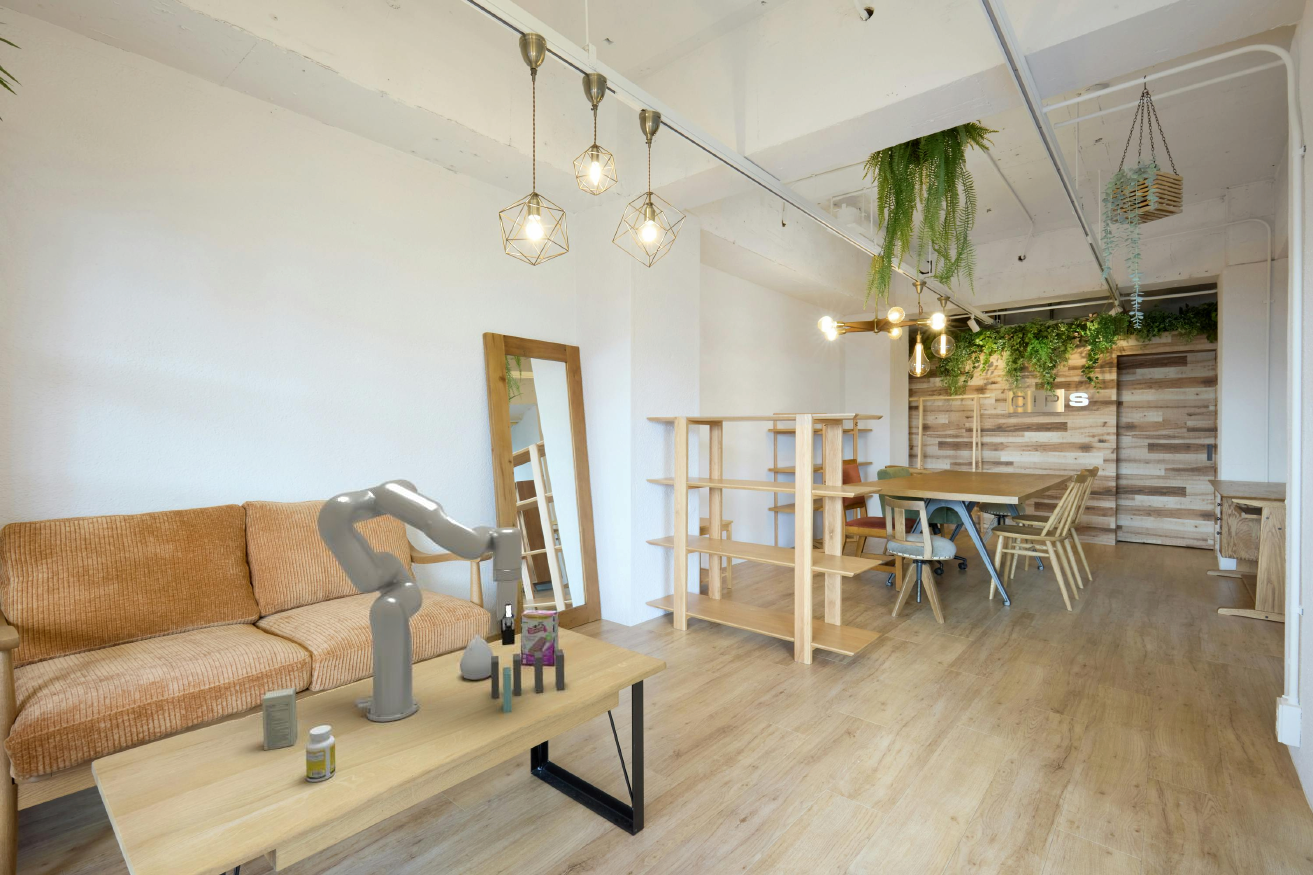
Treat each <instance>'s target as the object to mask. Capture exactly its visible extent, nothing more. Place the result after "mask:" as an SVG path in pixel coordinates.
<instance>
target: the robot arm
mask: <svg viewBox="0 0 1313 875" xmlns="http://www.w3.org/2000/svg"><path fill="white" fill-rule="evenodd" d="M387 515H389V516H390V517H393V518H395V519H397V520H399V521H401V522H402V523H404V524H406V525H408V526H411V527H412V528H414V529H416V530H418V531H420V532H422V533H423V534H424V535H425V537H427V538H428V539H430V540H431V541H432V542H433V543H435V544H436V545H437V546H439V547H440V548H442V549H443V550H444V551H448V552H450V553H452V554H453V555H456V556H458V557H460V558H462V559H464V560H469V561H474V560H479V559H480V558H482V557H483V556H484V555H486V554H490V553H492V581H493V582H494V583H496V593H495V594H496V596H495V598H496V600H495V601H496V620H497V621H499V622H500V634H501V645H502V646H510V645H511V646H512V645H515V643H516V640H515V639H516V635H515V634H516V632H515V631H516V629H515V622H514V621H515V620H516V618H517V609H518V582H519V581H522V579H523V569H522V568H523V562H522V561H523V559H522V556H523V554H522V552H523V551H522V550H523V548H522V547H523V543H522V542H523V541H522V539H523V537H522V536H523V535H522V534H523V533H522V530H521V529H520V528H518V527H514V526H505V527H494V526H493V527H491V526H483V525H482V526H481V525H480V526H476V527H474V528H469V527H467V526H465V525H463V524H461V523H459V522H458V521H456V520H454V519H452V518H451V517H450V516H449V515H447V513H446V512H445V510H444V507H443V506H442V505H441V503H440V502H438V501H437V500H435V499H432V498H431V497H428V496H426V495H424V494H422V493H420V492H419V491H418V488H417V487H416V485H415V484H414V483H413V482H411V481H410V480H407V479H392V480H388V481H384V482H382V483H380V485H377V486H374V487H369V488H364V489H361V490H360V489H359V490H356V491H348V492H343V493H339V494H336V495H334V496H332V497H331V498H329V499H328V500H326V502H324V504H323V505H322V507H321V508H320V510H319V513H318V515H317V523H316V524H317V531H318V533H319V536H320V538H321V540H322V542H323V543H324V544H325V546H326V548H328V550H329V551H330V552H331V554H332V555H333V557H334V558H335V559H336V562H337V563H338V565H339V566H340V568H341V570H342V571H343V572H344V573H345V575H346V576H347V578H348V579H349V581H350V582H351V583H352V585H353V586H354V588H355V590H357V591H358V592H360V593H361V594H367V595H368V594H374V593H376V592H379V594H380V595H378V597H377V598H376V599H375V600H374V601H373V603H372V604H371V606H370V609H369V618H368V619H369V626H370V630H371V631H370V632H371V638H372V680H373V681H372V691H373V692H372V695H371V696H370V695H369V696H368V697H366V698H363V697H362V698H361V697H360V698H355V700H354V707H355V708H358V710H362V709H364V710H365V709H367V710H366V717H367V719H368V720H370V721H372V722H373V721H374V722H382V723H384V722H393V721H397V720H398V721H399V720H401V719H404V718H407V717H408V716H411V715H413V714H414V713H416V712H417V711H418V709H419V708H420V702H419V700H417V699H416V698H414V697H413V640H412V639H413V637H412V632H411V627H410V619H411V618H412V617H414V615H416V614H417V613H418V612H419V611H420V610H421V608H422V605H423V601H424V600H423V593H422V591H421V589H420V587H419V585H418V584H417V582H416V581H415V580H414V578H413V576H412V575H411V574H410V573H409V571H408V570H407V568H406V566H405V565H404V564H403V562H402V561H401V560H400V558H399V557H397V556H396V555H395V554H393V553H391V552H389V551H388V552H387V551H377V552H376V551H375V549H374V548H373V547H372V546H371V544H370V543H369V541H368V539H367V538H366V537H365V536H364V534H362V533H361V531H359V530H357V528H356V526H355V524H358V523H360V522H365V521H368V520H372V519H375V518H379V517H383V516H387Z"/></svg>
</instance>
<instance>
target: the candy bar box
mask: <svg viewBox="0 0 1313 875" xmlns="http://www.w3.org/2000/svg"><path fill="white" fill-rule="evenodd" d="M558 649H559V611H558V610H539V609H538V610H537V609H532V610H531V609H525V610H524V611H523V612H522V613H521V614H520V656H521V666H534V652H539V651H541V652H542V656H543V667H545V666H547V667H548V666H550V667H551V666H552V667H555V650H558Z"/></svg>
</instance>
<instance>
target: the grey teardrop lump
mask: <svg viewBox="0 0 1313 875" xmlns="http://www.w3.org/2000/svg"><path fill="white" fill-rule="evenodd" d="M491 656H495V655H494V652H493V650H492V648H491V646H490V645H489V643H488V642H487V641H486V640H485V639H484V638H481V637H480V635H479V634H475V635H474V637H473V639H472V640H471V641H470V642H469V643H468V644H467V646H466V648H465V650H464V652H463V655H462V657H461V660H460V663H459V671H460V673H461V675H462V676H463V678H465V679H467V680H469V681H470V680H471V681H477V680H478V681H480V680H483V679H486V678H488V677H491Z"/></svg>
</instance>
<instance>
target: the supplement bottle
mask: <svg viewBox="0 0 1313 875" xmlns="http://www.w3.org/2000/svg"><path fill="white" fill-rule="evenodd" d="M305 760H306V761H305V762H306V763H305V766H306V773H305V774H306V780H307V781H308V782H310V783H311V782H312V783H316V782H317V783H318V782H322V781H325V780H327V779H329V778H331V777H333V776H334V774H335V773H336V739H335V737H334V736H333V735H332V727H331V725H328V724H327V725H323V724H322V725H319V726H316V727H313V728H312V729H311V730H309V740H308V741H307V743H306V746H305Z"/></svg>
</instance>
